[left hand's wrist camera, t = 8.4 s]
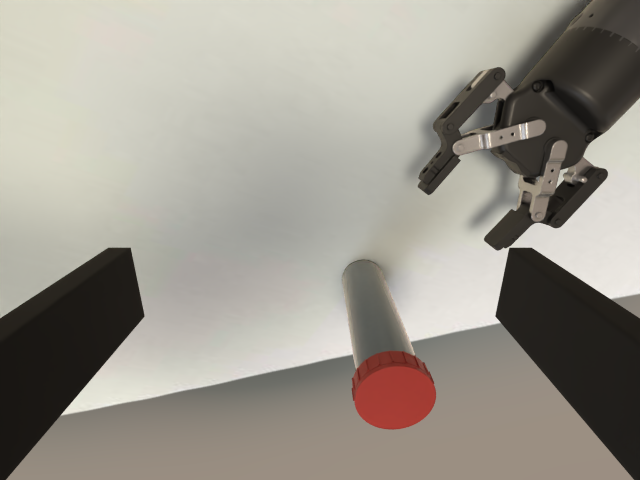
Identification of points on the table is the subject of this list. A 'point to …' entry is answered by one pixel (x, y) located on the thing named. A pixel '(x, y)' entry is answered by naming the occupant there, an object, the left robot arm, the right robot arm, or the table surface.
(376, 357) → the lid
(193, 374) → the table surface
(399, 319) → the jar
